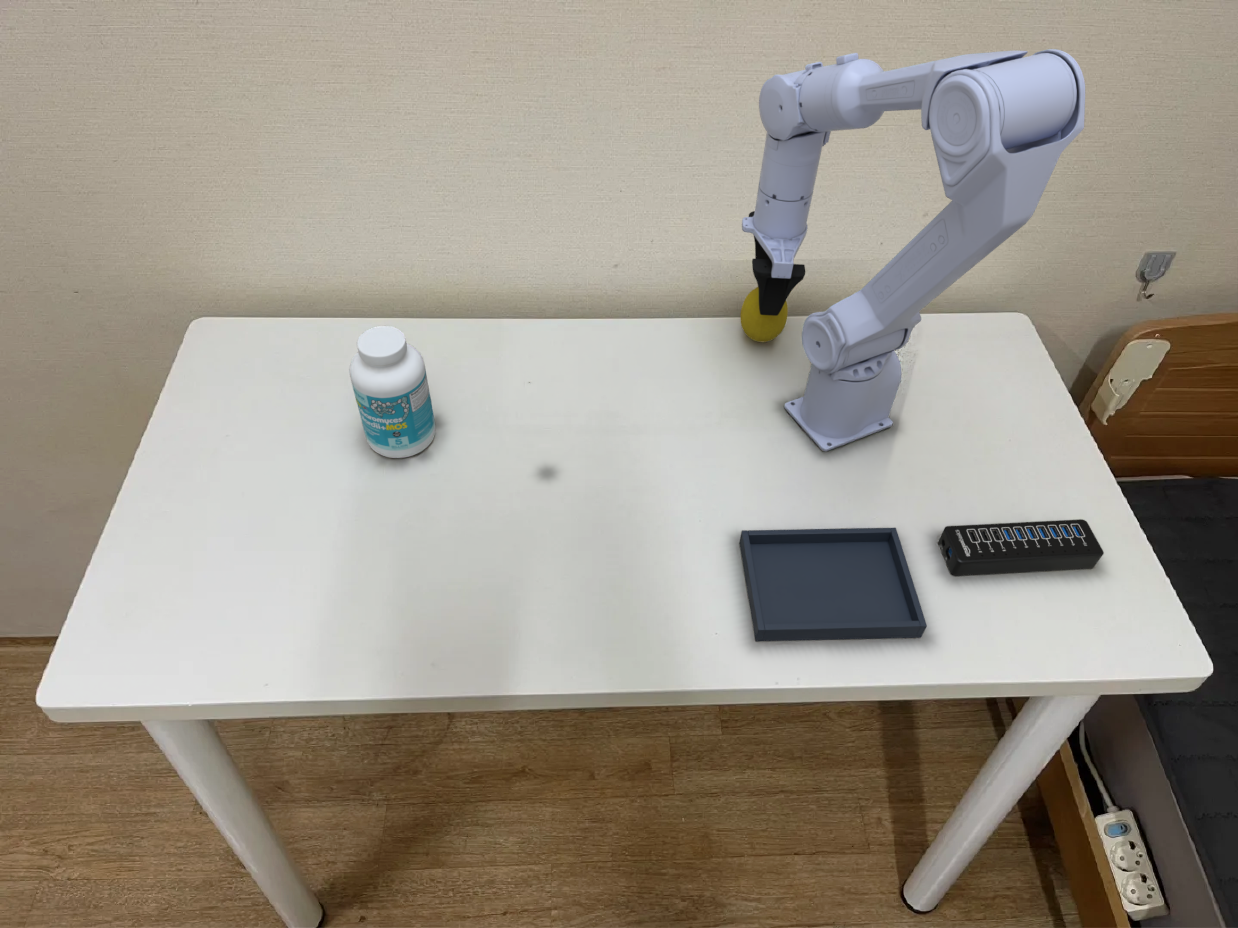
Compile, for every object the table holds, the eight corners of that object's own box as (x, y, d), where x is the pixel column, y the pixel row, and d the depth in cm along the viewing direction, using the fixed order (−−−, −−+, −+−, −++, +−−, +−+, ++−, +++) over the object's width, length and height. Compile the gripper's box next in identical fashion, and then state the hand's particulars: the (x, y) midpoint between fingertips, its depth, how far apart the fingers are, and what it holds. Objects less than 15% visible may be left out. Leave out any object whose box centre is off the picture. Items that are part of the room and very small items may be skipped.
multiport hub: (1095, 568, 86) (1105, 554, 85) (951, 576, 85) (958, 562, 84) (1076, 532, 89) (1086, 518, 88) (936, 540, 88) (943, 525, 87)
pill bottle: (353, 449, 95) (325, 352, 85) (390, 405, 100) (368, 308, 90) (414, 470, 93) (393, 373, 83) (449, 423, 98) (433, 327, 88)
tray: (890, 539, 88) (896, 527, 87) (921, 638, 81) (927, 626, 79) (739, 542, 88) (741, 530, 86) (755, 641, 80) (758, 630, 79)
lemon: (787, 334, 109) (798, 280, 103) (773, 360, 106) (784, 306, 100) (745, 321, 111) (753, 268, 105) (730, 347, 107) (738, 293, 102)
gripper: (745, 150, 98) (730, 254, 108) (750, 223, 88) (734, 330, 98) (809, 153, 98) (788, 257, 108) (821, 227, 88) (798, 334, 98)
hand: (767, 292), depth 103 cm, fingers open, 7 cm apart
